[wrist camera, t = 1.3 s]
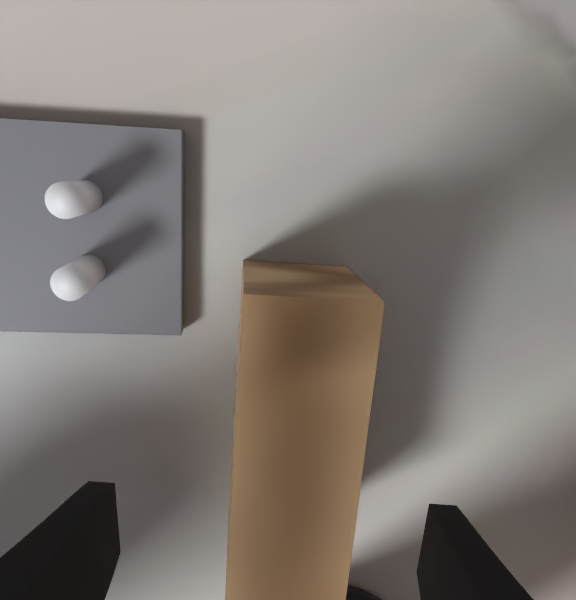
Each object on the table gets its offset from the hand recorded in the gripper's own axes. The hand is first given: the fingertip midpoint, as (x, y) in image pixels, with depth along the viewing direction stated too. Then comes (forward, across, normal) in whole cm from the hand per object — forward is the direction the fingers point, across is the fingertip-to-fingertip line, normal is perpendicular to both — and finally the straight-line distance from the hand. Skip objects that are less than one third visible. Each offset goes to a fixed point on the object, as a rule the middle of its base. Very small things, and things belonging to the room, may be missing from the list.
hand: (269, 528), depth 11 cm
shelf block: (+11, 0, +3) cm, 11 cm away
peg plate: (+10, +13, -4) cm, 17 cm away
